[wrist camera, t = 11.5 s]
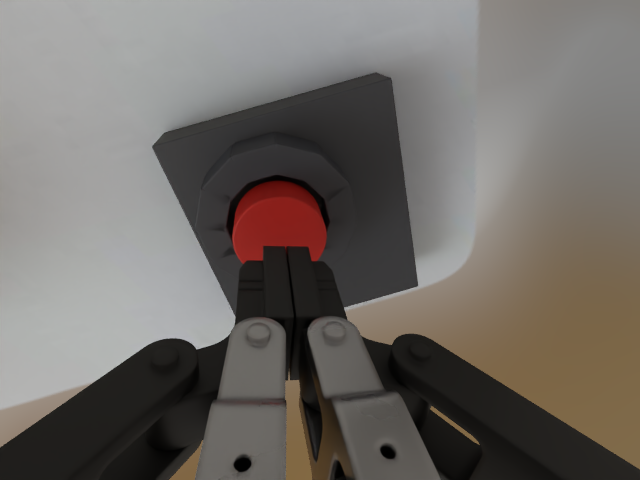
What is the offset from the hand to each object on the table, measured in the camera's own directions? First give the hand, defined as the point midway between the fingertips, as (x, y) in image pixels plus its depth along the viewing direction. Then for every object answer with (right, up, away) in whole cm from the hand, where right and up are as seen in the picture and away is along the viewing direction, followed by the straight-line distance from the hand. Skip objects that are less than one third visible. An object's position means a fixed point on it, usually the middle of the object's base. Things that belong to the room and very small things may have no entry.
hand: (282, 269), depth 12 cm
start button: (0, +2, +3) cm, 4 cm away
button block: (0, +3, +7) cm, 7 cm away
